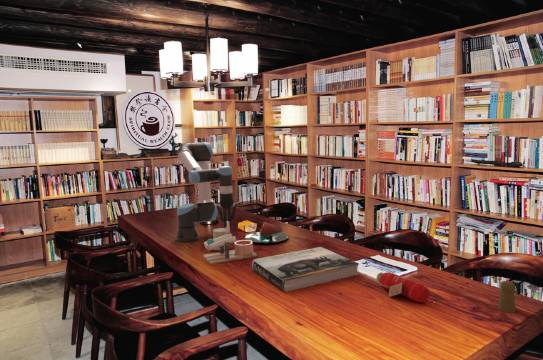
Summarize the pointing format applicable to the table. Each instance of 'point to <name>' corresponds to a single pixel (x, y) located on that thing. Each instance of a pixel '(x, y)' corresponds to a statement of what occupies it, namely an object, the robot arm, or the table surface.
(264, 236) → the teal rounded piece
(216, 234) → the can
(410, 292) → the red elongated piece
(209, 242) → the ball
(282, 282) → the book
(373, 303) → the table surface
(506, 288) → the green chess rook
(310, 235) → the table surface
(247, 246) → the cup
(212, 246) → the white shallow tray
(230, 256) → the stand
